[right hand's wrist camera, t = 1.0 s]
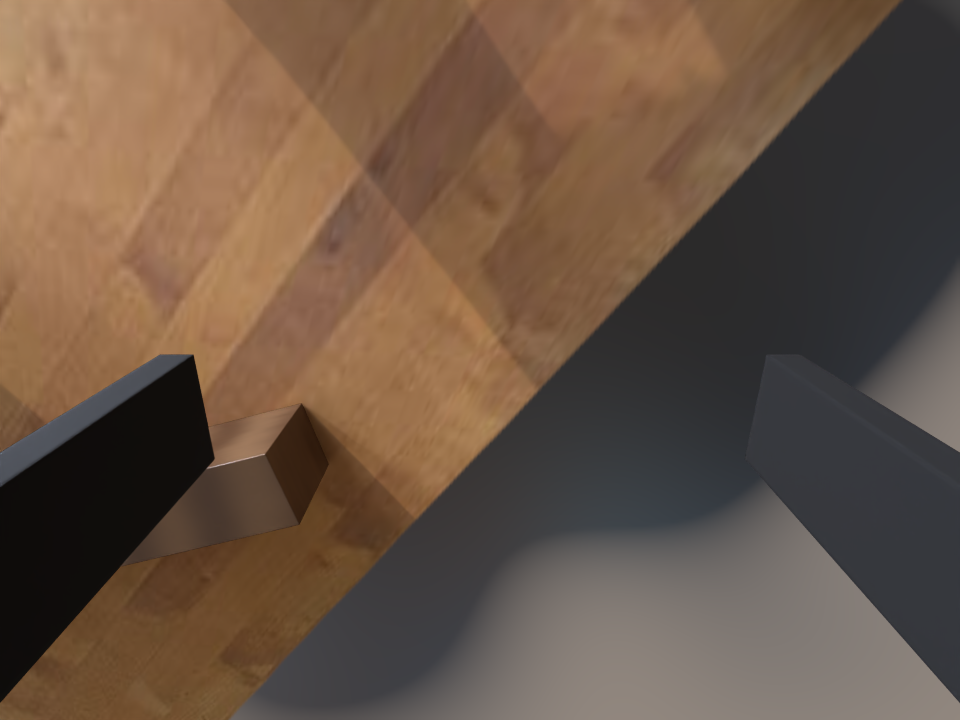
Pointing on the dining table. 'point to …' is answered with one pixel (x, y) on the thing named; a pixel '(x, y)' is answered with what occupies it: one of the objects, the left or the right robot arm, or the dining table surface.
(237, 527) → the post
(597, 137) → the dining table surface
